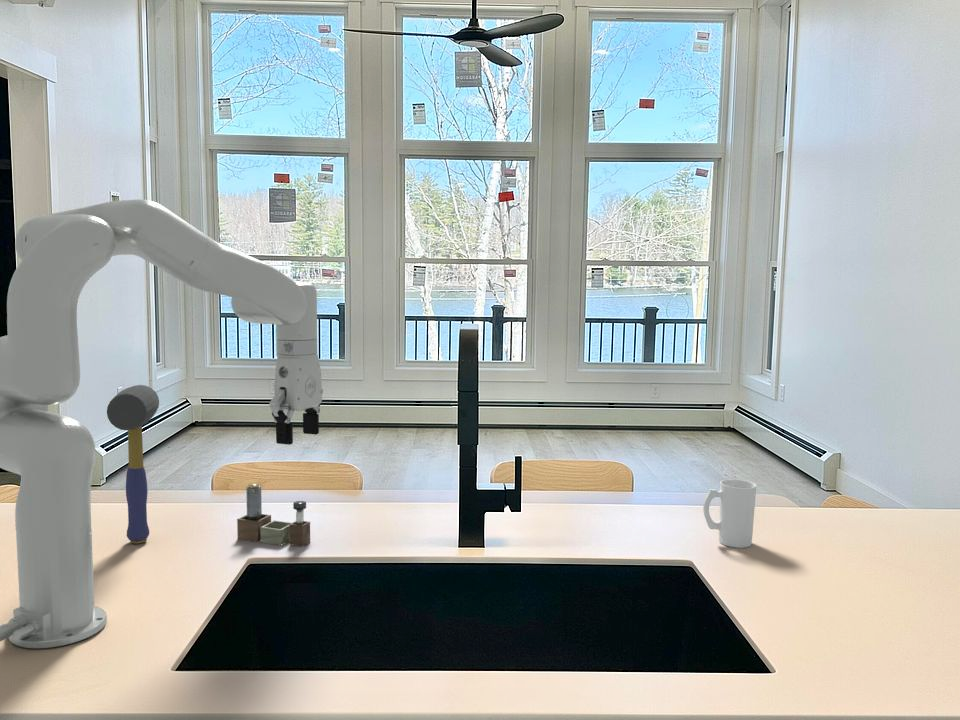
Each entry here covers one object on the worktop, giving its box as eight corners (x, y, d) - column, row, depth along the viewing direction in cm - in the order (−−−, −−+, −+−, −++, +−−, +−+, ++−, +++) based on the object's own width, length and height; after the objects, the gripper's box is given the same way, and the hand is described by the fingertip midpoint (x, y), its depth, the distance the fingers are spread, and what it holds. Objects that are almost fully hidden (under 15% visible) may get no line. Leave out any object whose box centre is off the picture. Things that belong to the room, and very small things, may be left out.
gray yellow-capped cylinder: (256, 540, 155) (255, 486, 154) (244, 538, 156) (243, 485, 154) (264, 535, 157) (264, 483, 156) (252, 533, 158) (251, 481, 157)
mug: (745, 537, 161) (748, 479, 160) (758, 548, 155) (761, 488, 153) (696, 537, 161) (699, 479, 160) (707, 548, 154) (710, 488, 153)
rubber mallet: (151, 552, 147) (147, 392, 144) (108, 554, 146) (102, 392, 142) (165, 530, 159) (161, 382, 156) (125, 532, 158) (120, 382, 155)
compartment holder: (300, 548, 151) (300, 527, 150) (237, 539, 155) (237, 519, 155) (312, 540, 155) (312, 520, 155) (251, 531, 159) (251, 512, 159)
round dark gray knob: (302, 535, 152) (301, 505, 151) (291, 534, 152) (290, 503, 152) (308, 532, 154) (308, 501, 153) (297, 530, 155) (297, 500, 154)
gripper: (289, 354, 140) (291, 450, 142) (337, 345, 156) (337, 431, 158) (252, 352, 142) (254, 446, 144) (303, 343, 159) (304, 428, 161)
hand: (298, 438), depth 151 cm, fingers open, 9 cm apart
